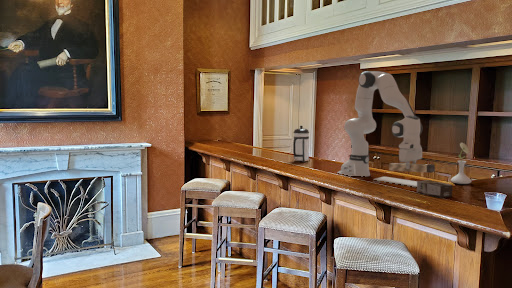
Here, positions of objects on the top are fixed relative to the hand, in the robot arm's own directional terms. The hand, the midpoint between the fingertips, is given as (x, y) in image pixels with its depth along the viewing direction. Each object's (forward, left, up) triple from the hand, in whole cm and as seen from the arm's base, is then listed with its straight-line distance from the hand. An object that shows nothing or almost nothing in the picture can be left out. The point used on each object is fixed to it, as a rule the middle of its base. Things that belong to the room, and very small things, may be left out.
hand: (410, 168), depth 236 cm
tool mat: (-13, +12, -12) cm, 21 cm away
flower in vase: (+13, +37, -12) cm, 41 cm away
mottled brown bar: (0, 0, -2) cm, 2 cm away
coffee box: (+8, -1, -9) cm, 12 cm away
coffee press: (-113, +30, -12) cm, 118 cm away
